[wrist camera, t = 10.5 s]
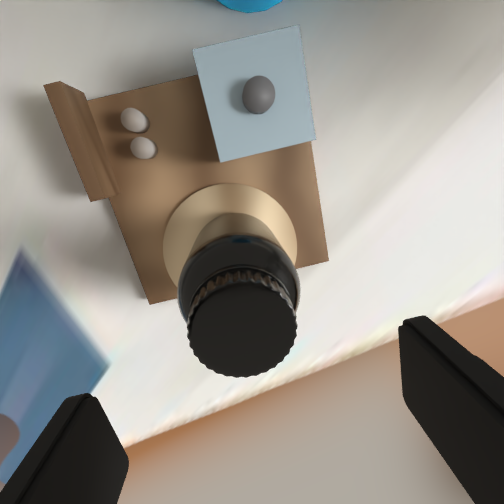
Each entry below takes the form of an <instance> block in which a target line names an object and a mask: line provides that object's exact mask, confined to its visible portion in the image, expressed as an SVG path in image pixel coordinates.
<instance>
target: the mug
mask: <svg viewBox="0 0 504 504" xmlns="http://www.w3.org/2000/svg"><path fill="white" fill-rule="evenodd" d="M217 1H219V2H220V3H221V4H223V5H224V6H226V7H227V8H229V9H233V10H237V11H241V12H245V13H252V12H259V11H265V10H267V9H269V8H271V7H273V6H274V5H276V4H278V3H280V2H282V0H217Z"/></svg>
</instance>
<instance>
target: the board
mask: <svg viewBox="0 0 504 504" xmlns="http://www.w3.org/2000/svg"><path fill="white" fill-rule="evenodd" d="M43 86H44V88H45V91H46V93H47V96H48V98H49V101H50V103H51V106H52V108H53V110H54V113H55V115H56V118H57V120H58V123H59V125H60V128H61V130H62V133H63V135H64V138H65V140H66V143H67V145H68V147H69V150H70V152H71V155H72V157H73V160H74V162H75V165H76V167H77V170H78V172H79V175H80V177H81V180H82V182H83V184H84V187H85V189H86V192H87V194H88V197H89V199H90V202H92V201H97V200H101V199H105V198H108V197H109V200H110V202H111V205H112V208H113V210H114V213H115V215H116V218H117V221H118V223H119V226H120V229H121V231H122V234H123V236H124V239H125V242H126V244H127V247H128V249H129V252H130V255H131V257H132V260H133V262H134V265H135V268H136V270H137V273H138V275H139V278H140V281H141V283H142V286H143V288H144V291H145V294H146V296H147V299H148V301H149V304H150V305H151V304H155V303H159V302H163V301H167V300H172V299H176V298H177V287H178V281H179V277H180V274H181V271H182V269H183V266H184V264H185V262H186V260H187V258H188V255H189V253H190V251H191V249H192V247H193V244H194V242H195V240H196V238H197V236H198V234H199V233H200V231H201V230H202V229H203V227H204V226H205V225H206V224H207V223H209V222H210V221H211V220H213V219H214V218H216V217H218V216H221V215H224V214H228V213H244V214H248V215H251V216H254V217H256V218H258V219H259V220H261V221H262V222H263V223H265V224H266V225H267V226H268V228H269V229H270V230H271V231H272V233H273V234H274V235H275V237H276V238H277V240H278V241H279V243H280V244H281V246H282V247H283V249H284V250H285V252H286V253H287V255H288V256H289V258H290V259H291V261H292V263H293V264H294V266H295V269H298V268H302V267H306V266H310V265H314V264H318V263H322V262H326V261H329V258H328V252H327V245H326V238H325V232H324V225H323V219H322V212H321V205H320V199H319V192H318V186H317V179H316V172H315V166H314V159H313V153H312V146H311V141H308V142H304V143H300V144H296V145H292V146H288V147H284V148H279V149H275V150H271V151H267V152H263V153H259V154H254V155H250V156H246V157H242V158H238V159H234V160H229V161H225V162H221V163H220V159H219V155H218V151H217V147H216V143H215V139H214V135H213V131H212V127H211V123H210V119H209V115H208V111H207V107H206V103H205V99H204V95H203V91H202V87H201V83H200V79H199V75H194V76H190V77H186V78H182V79H177V80H173V81H169V82H165V83H160V84H156V85H152V86H148V87H143V88H139V89H135V90H131V91H126V92H122V93H118V94H114V95H109V96H105V97H101V98H97V99H92V100H88V101H87V100H86V97H85V94H84V93H83V92H81V91H79V90H77V89H75V88H73V87H71V86H69V85H67V84H65V83H63V82H61V81H59V82H54V83H50V84H46V85H43Z"/></svg>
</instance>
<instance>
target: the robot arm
mask: <svg viewBox="0 0 504 504" xmlns="http://www.w3.org/2000/svg"><path fill="white" fill-rule="evenodd" d="M398 333H399V346H400V347H399V348H400V362H401V377H402V390H403V397H404V400H405V403H406V405H407V407H408V408H409V410H410V411H411V412H412V414H413V415H414V417H415V418H416V420H417V421H418V423H419V424H420V425H421V427H422V428H423V430H424V431H425V433H426V434H427V435H428V437H429V438H430V440H431V441H432V442H433V444H434V446H435V447H436V448H437V450H438V451H439V453H440V454H441V456H442V457H443V458H444V460H445V461H446V463H447V464H448V465H449V467H450V469H451V470H452V471H453V473H454V474H455V476H456V477H457V479H458V480H459V481H460V483H461V484H462V486H463V487H464V489H465V490H466V491H467V493H468V494H469V496H470V497H471V498H472V500H473V502H474V503H475V504H504V377H503V376H501V375H500V374H499V373H498V372H497V371H495V370H494V369H493V368H492V367H490V366H489V365H488V364H487V363H486V362H484V361H483V360H481V359H480V358H479V357H477V356H475V355H473V354H471V353H470V352H469V351H468V350H467V349H466V348H464V347H463V346H462V345H460V344H459V343H458V342H457V341H456V340H455V339H453V338H452V337H451V336H450V335H449V334H447V333H446V332H445V331H444V330H443V329H441V328H440V327H439V326H438V325H436V324H435V323H434V322H433V321H432V320H430V319H429V318H428V317H426V316H418V317H414V318H410V319H405V320H404V321H403V325H402V326H399V328H398ZM128 467H129V460H128V456H127V454H126V452H125V451H124V449H123V447H122V445H121V443H120V441H119V439H118V437H117V435H116V433H115V431H114V429H113V427H112V426H111V424H110V422H109V420H108V418H107V416H106V414H105V412H104V410H103V408H102V406H101V404H100V402H99V401H98V399H97V398H96V397H93V396H92V395H91V394H89V393H85V394H80V395H76V396H72V397H68V398H66V399H65V400H64V401H63V403H62V404H61V406H60V407H59V409H58V410H57V411H56V413H55V414H54V416H53V417H52V419H51V420H50V421H49V423H48V424H47V426H46V427H45V429H44V430H43V432H42V433H41V434H40V436H39V437H38V439H37V440H36V442H35V443H34V445H33V446H32V447H31V449H30V450H29V452H28V453H27V455H26V456H25V458H24V459H23V460H22V462H21V463H20V465H19V466H18V468H17V469H16V471H15V472H14V473H13V475H12V476H11V478H10V479H9V481H8V482H7V484H6V485H5V486H4V488H3V490H2V491H1V492H0V504H117V502H118V499H119V496H120V493H121V490H122V487H123V483H124V481H125V478H126V475H127V472H128Z"/></svg>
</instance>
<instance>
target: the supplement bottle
mask: <svg viewBox="0 0 504 504" xmlns="http://www.w3.org/2000/svg"><path fill="white" fill-rule="evenodd" d="M177 299H178V305H179V309H180V312H181V314H182V317H183V319H184V320H185V322H186V324H187V329H188V333H187V337H188V339H189V341H190V343H189V345H190V347H191V348H192V349H193V352H194V355H195V356H196V357H198V358H199V361H200V362H201V363H202V364H205V365H206V367H207V368H208V369H211V370H213V371H214V372H216V373H218V374H223V375H225V376H233V377H236V378H237V377H249V376H257V375H259V374H260V373H264V372H267V371H268V370H269V369H271V368H274V367H276V365H277V364H278V363H279V362H281V361H283V359H284V357H285V356H286V355H288V354H289V352H290V348H291V347H292V346H293V345H294V339H295V338H296V336H297V334H296V329H297V322H296V311H297V308H298V305H299V301H300V281H299V277H298V273H297V271H296V269H295V266H294V264H293V263H292V261H291V259H290V258H289V256H288V255H287V253H286V252H285V250H284V249H283V247H282V246H281V244H280V243H279V241H278V240H277V238H276V237H275V235H274V234H273V233H272V231H271V230H270V229H269V228H268V226H267V225H266V224H265V223H263V222H262V221H261V220H259V219H258V218H256V217H254V216H251V215H248V214H244V213H228V214H224V215H221V216H218V217H216V218H214V219H213V220H211V221H210V222H209V223H207V224H206V225H205V226H204V227H203V229H202V230H201V231H200V233H199V234H198V236H197V238H196V240H195V242H194V244H193V247H192V249H191V251H190V253H189V255H188V258H187V260H186V262H185V264H184V266H183V269H182V271H181V274H180V277H179V281H178V287H177Z"/></svg>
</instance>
